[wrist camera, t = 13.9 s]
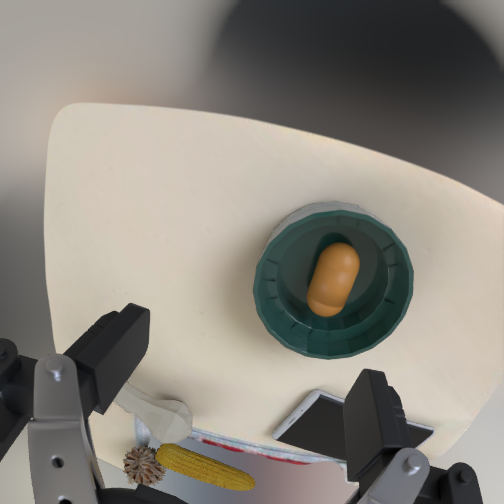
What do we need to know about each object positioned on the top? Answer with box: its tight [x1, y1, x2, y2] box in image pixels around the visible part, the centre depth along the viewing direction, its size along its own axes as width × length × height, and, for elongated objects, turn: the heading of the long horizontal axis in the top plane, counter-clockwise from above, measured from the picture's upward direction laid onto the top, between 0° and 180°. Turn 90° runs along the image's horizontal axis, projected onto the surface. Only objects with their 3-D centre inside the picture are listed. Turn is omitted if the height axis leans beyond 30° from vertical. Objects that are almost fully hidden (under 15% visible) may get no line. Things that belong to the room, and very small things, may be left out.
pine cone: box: [123, 446, 166, 486], centre depth 49 cm, size 22×10×10 cm, turn 155°
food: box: [155, 443, 255, 491], centre depth 47 cm, size 21×6×6 cm, turn 67°
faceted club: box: [113, 381, 192, 444], centre depth 42 cm, size 9×8×25 cm
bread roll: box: [307, 242, 360, 317], centre depth 31 cm, size 8×4×4 cm, turn 166°
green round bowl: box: [253, 201, 414, 360], centre depth 31 cm, size 16×16×6 cm
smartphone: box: [272, 390, 435, 461], centre depth 41 cm, size 13×27×2 cm, turn 65°
